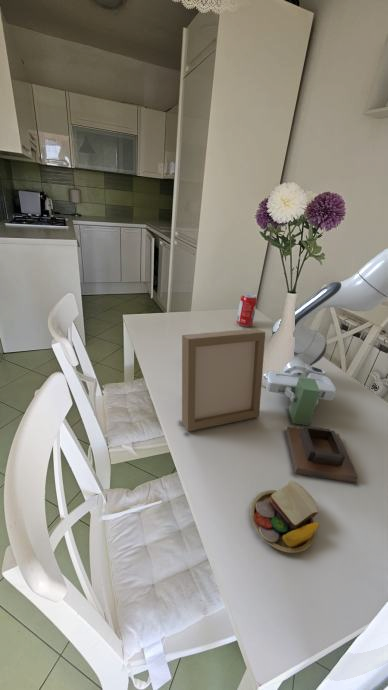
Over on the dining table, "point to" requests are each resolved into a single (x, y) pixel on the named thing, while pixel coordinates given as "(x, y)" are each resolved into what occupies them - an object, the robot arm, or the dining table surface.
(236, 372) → the photo frame
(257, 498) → the toy sandwich meal
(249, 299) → the soda can
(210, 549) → the dining table surface
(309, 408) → the back pad
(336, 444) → the base
